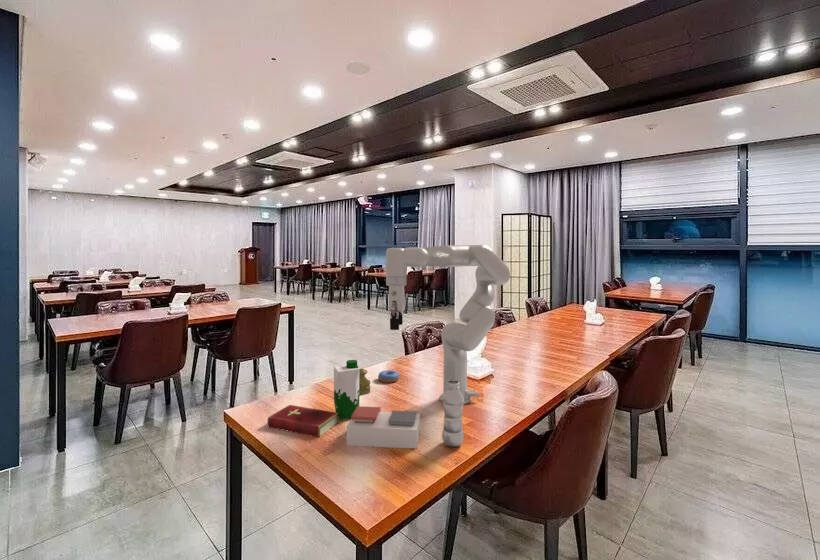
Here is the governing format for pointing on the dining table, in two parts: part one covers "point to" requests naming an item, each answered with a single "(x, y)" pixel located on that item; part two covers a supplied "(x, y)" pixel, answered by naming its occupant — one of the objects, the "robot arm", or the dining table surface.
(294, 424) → the hardcover book
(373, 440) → the white button box
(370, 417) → the red square push button
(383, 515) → the dining table surface
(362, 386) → the gold rounded piece
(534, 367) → the dining table surface
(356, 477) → the dining table surface
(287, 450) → the dining table surface
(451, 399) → the plastic bottle
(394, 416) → the grey square push button
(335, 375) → the milk carton
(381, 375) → the doughnut
